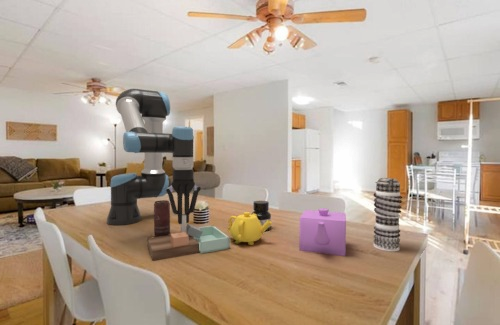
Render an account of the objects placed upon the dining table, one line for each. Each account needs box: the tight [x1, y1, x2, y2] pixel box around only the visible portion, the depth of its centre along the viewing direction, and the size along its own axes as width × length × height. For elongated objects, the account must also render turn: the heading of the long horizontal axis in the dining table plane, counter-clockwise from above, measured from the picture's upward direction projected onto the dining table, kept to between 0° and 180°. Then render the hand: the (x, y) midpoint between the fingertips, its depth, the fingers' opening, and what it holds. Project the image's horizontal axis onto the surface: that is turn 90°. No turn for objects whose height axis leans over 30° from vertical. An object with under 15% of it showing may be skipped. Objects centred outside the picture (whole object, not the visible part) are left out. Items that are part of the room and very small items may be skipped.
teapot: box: [226, 211, 273, 246], centre depth 101 cm, size 14×14×11 cm
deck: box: [147, 234, 200, 261], centre depth 92 cm, size 14×15×3 cm
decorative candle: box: [373, 177, 403, 253], centre depth 95 cm, size 9×9×25 cm
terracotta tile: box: [169, 231, 189, 247], centre depth 89 cm, size 5×5×3 cm
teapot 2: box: [298, 207, 347, 257], centre depth 94 cm, size 15×25×14 cm, turn 161°
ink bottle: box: [250, 200, 272, 231], centre depth 118 cm, size 10×9×12 cm
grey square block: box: [186, 223, 203, 239], centre depth 99 cm, size 5×5×3 cm
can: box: [153, 199, 171, 237], centre depth 108 cm, size 6×6×14 cm
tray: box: [193, 225, 231, 255], centre depth 98 cm, size 17×10×4 cm, turn 28°
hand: (183, 231), depth 98 cm, fingers closed
